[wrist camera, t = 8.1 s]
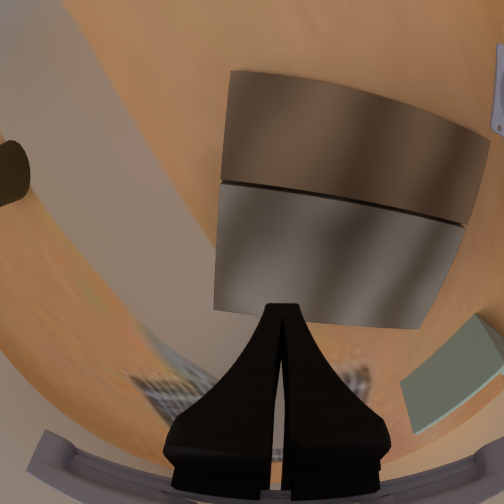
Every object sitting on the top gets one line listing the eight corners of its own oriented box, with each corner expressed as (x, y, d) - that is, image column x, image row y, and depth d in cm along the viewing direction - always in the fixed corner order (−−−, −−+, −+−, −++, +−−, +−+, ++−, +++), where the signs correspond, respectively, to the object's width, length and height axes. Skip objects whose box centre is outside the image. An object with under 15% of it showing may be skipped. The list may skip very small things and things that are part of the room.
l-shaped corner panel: (399, 381, 28) (413, 434, 22) (473, 312, 23) (505, 363, 16) (446, 395, 30) (459, 437, 24) (507, 340, 25) (530, 381, 18)
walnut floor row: (478, 136, 15) (490, 140, 14) (457, 217, 18) (467, 224, 17) (234, 73, 15) (230, 70, 14) (224, 173, 18) (220, 179, 17)
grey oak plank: (456, 220, 18) (465, 228, 17) (413, 318, 23) (418, 329, 22) (224, 177, 19) (220, 183, 17) (216, 297, 24) (213, 309, 22)
